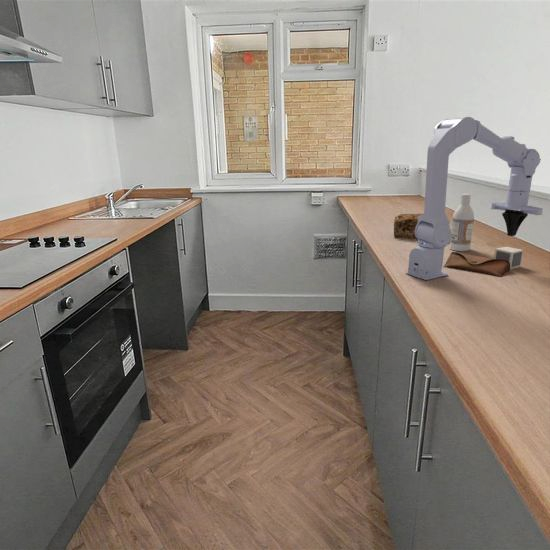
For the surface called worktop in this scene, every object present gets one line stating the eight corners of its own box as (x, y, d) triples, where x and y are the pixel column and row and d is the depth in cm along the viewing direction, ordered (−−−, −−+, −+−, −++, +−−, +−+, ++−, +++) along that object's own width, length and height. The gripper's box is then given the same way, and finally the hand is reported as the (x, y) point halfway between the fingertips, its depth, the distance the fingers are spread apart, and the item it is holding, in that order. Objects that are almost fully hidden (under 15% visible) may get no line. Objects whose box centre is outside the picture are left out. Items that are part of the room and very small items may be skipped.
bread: (441, 236, 172) (443, 212, 169) (440, 241, 162) (443, 216, 159) (395, 233, 179) (397, 210, 176) (392, 238, 169) (393, 214, 166)
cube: (510, 270, 125) (512, 252, 124) (492, 265, 130) (495, 248, 128) (520, 267, 128) (523, 250, 126) (503, 262, 133) (506, 246, 131)
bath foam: (462, 252, 145) (469, 195, 139) (445, 248, 151) (451, 194, 145) (473, 249, 149) (481, 194, 143) (456, 246, 154) (462, 192, 148)
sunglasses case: (440, 266, 129) (446, 247, 130) (445, 273, 135) (451, 254, 135) (503, 277, 118) (509, 255, 119) (506, 283, 124) (511, 263, 124)
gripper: (551, 191, 117) (543, 238, 121) (503, 187, 129) (497, 230, 133) (537, 193, 114) (529, 241, 118) (489, 189, 126) (483, 232, 130)
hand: (511, 235), depth 126 cm, fingers closed
